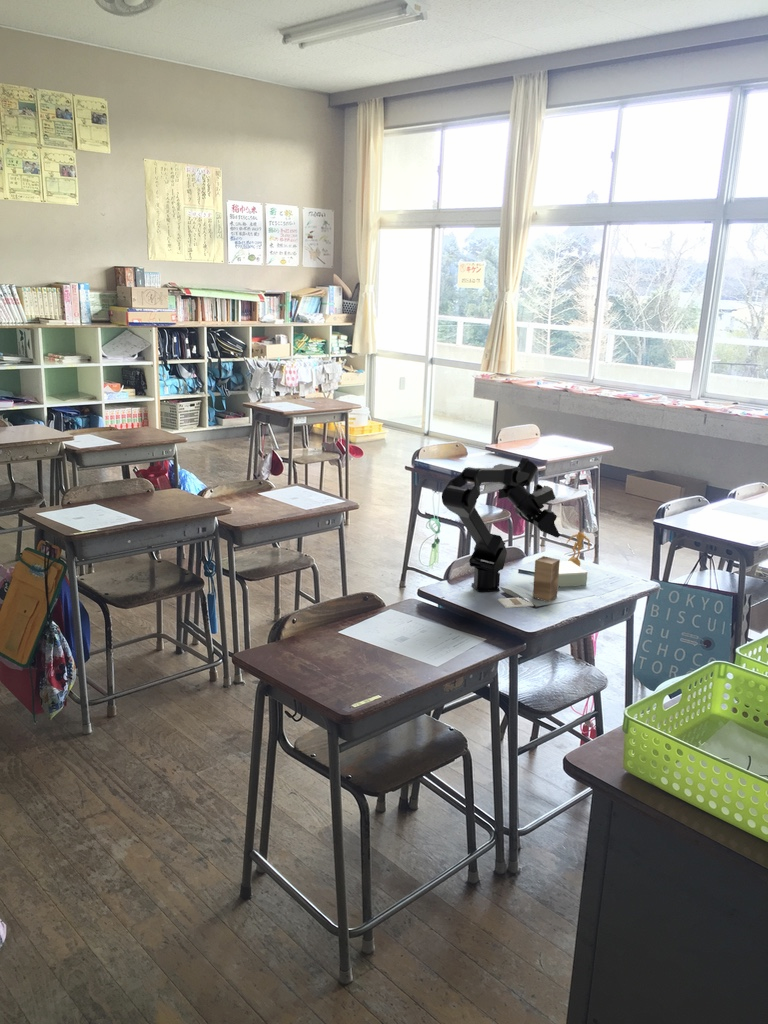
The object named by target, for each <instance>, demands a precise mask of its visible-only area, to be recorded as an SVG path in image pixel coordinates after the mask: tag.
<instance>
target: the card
mask: <svg viewBox="0 0 768 1024" xmlns="http://www.w3.org/2000/svg"><path fill="white" fill-rule="evenodd" d="M497 601H498V602H499V603H500V604H501V605H502V606H503V607H504V608H506V609H509V608H510V609H511V608H512V609H513V608H524V607H534V604H533V603H532V602H531V601H530V602H527V601H525V600H522V599H521V598H519V597H508V598H507V597H506V598H497Z"/></svg>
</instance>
